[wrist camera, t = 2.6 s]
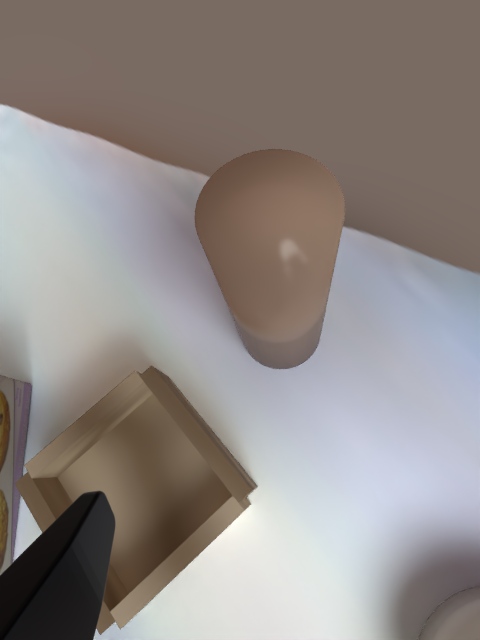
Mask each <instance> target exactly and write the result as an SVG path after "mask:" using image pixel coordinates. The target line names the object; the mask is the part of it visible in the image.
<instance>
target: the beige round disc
mask: <svg viewBox="0 0 480 640" xmlns="http://www.w3.org/2000/svg"><path fill="white" fill-rule="evenodd" d="M419 640H480V587H474V588H470V589H466V590H463V591H461V592H459V593H457V594H454V595H453V596H451V597H450V598H448V599H447V600H445V601H444V602H443V603H442V604H441V605H440V606H438V607H437V608H436V609H435V611H434V612H433V613H432V615H431V616H430V617H429V618H428V620H427V622H426V624H425V626H424V627H423V629H422V632H421V634H420V637H419Z"/></svg>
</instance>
